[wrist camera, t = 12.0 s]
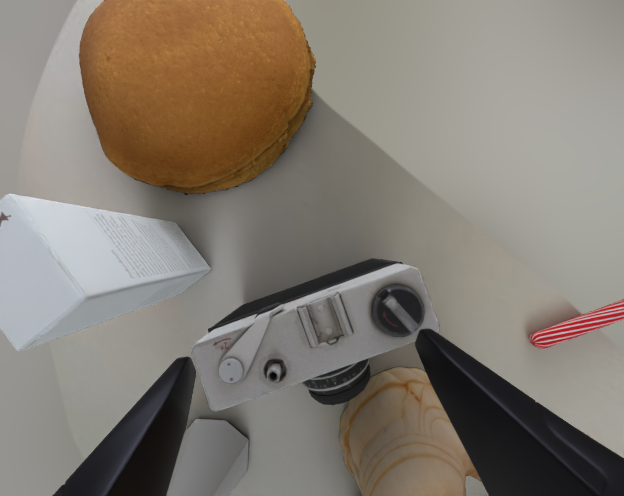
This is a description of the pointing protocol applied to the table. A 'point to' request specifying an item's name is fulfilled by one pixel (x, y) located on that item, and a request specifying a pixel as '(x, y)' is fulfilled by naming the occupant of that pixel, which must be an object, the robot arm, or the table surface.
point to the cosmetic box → (84, 267)
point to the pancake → (195, 88)
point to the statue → (403, 439)
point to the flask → (209, 460)
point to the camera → (314, 335)
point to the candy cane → (578, 325)
